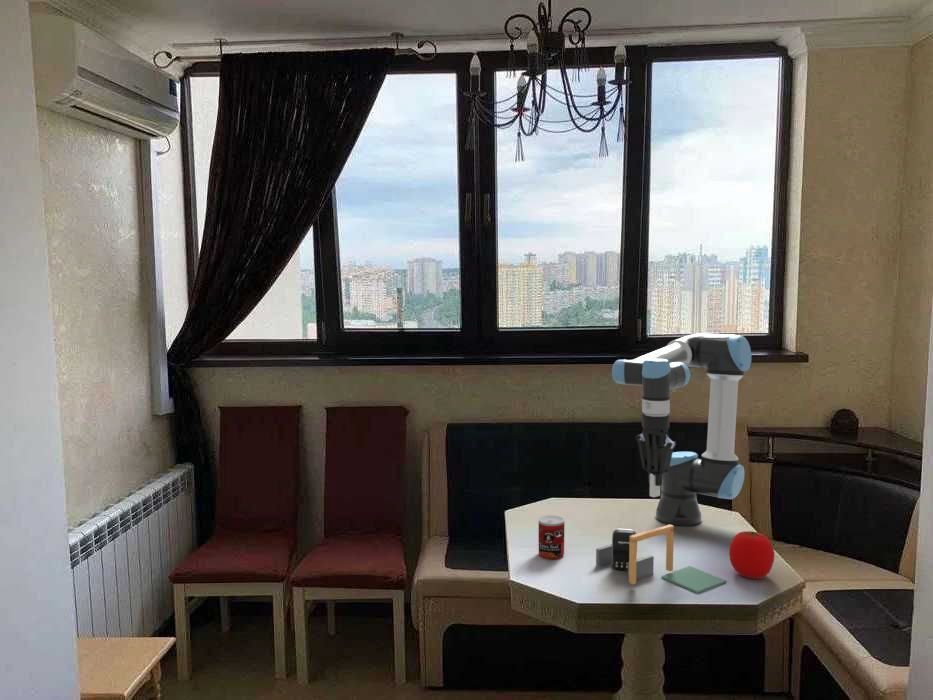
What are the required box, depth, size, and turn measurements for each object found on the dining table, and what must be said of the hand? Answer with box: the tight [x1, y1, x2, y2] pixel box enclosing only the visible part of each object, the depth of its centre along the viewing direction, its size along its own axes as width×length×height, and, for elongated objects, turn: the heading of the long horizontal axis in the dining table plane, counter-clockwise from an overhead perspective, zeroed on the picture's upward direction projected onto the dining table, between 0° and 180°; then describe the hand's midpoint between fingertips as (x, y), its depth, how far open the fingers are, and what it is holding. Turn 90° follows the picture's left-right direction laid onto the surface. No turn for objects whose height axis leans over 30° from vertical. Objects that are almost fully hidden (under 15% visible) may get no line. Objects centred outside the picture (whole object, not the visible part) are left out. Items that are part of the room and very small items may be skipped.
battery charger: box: [611, 528, 638, 572], centre depth 196 cm, size 7×4×11 cm, turn 78°
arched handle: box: [628, 524, 675, 585], centre depth 188 cm, size 16×1×13 cm, turn 124°
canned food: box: [538, 515, 565, 561], centre depth 207 cm, size 8×8×11 cm
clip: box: [595, 543, 655, 581], centre depth 196 cm, size 9×13×5 cm
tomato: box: [728, 530, 775, 580], centre depth 191 cm, size 12×12×13 cm
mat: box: [661, 565, 727, 594], centre depth 189 cm, size 12×12×1 cm
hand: (654, 495), depth 196 cm, fingers closed
